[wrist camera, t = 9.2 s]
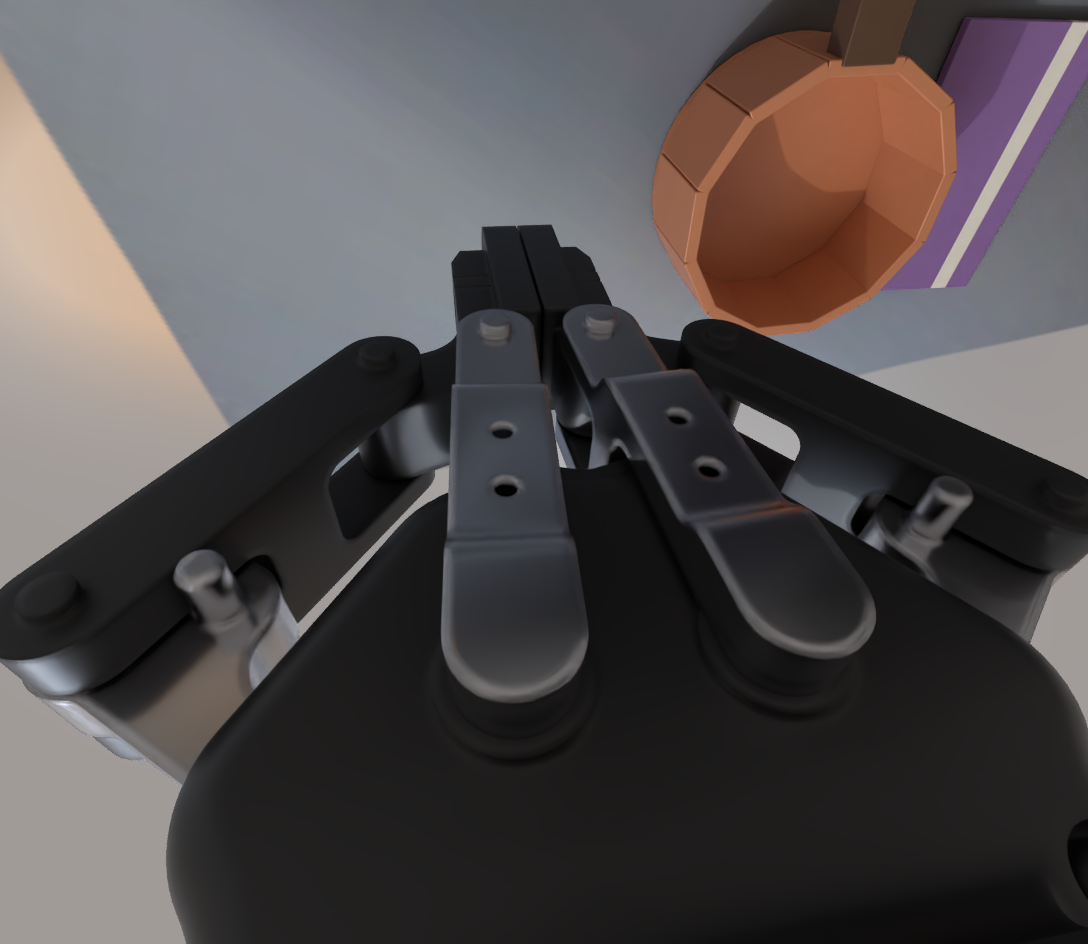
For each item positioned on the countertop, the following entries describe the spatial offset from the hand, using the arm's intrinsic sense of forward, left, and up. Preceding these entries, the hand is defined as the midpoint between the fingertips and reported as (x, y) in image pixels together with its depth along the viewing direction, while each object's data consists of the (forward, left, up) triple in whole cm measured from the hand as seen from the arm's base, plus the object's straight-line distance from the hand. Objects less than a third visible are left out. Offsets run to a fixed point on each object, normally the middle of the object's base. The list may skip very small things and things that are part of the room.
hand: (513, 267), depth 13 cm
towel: (+2, +22, -12) cm, 25 cm away
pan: (-1, +12, -12) cm, 17 cm away
